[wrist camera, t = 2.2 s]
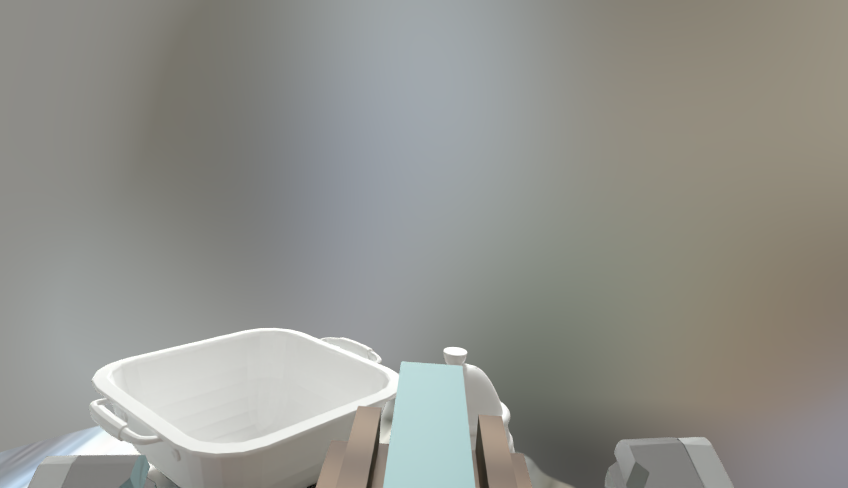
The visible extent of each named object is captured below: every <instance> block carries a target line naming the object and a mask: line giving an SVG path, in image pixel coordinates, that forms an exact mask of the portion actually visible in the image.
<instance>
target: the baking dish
mask: <svg viewBox="0 0 848 488" xmlns="http://www.w3.org/2000/svg"><path fill="white" fill-rule="evenodd" d="M331 344H333V345H331ZM334 345H336V346H339V347H340V348H339V347H336V346H334ZM370 360H372V361H370ZM373 361H374V362H373ZM381 363H382V360H381V358H380V356H379V355H377V354H376V353H374V350H373V349H371V348H369V347H367V346H365V345H363V344H361V343H358V342H356V341H353V340H350V339H347V338H343V337H341V338H333V337H331V338H330V337H328V338H322V339H317V338H314V337H312V336H310V335H307V334H305V333H301V332H297V331H294V330H288V329H279V328H260V329H252V330H246V331H241V332H237V333H232V334H228V335H224V336H219V337H215V338H211V339H207V340H203V341H198V342H194V343H190V344H185V345H181V346H177V347H172V348H168V349H164V350H160V351H155V352H151V353H147V354H142V355H138V356H134V357H129V358H125V359H122V360H119V361H116V362H113V363H110V364H108V365H106V366H104V367H103V368H101V369H99V370H98V371H97V372H96V374H95V375H94V377H93V379H92V381H91V382H92V385H93V387H94V388H95V390H96V391H97V392H98V393H99V394H101V395H102V396H103V397H105V398H104V399H99V400H95V401H93V402H91V403H90V406H89V409H90V412H91V417H92V419H93V420H94V421H95V422H96V423H97V424H98V425H99V426H100V427H101V428H102V429H103V430H105V431H106V432H107V433H109V434H110V435H112V436H113V437H115V438H117V439H118V440H120V441H126V442H129V443H132V444H133V446H134V447H135V448H136V450H137V451H138V452H139V453H140V454H141V455H145V456H146V458H147V461H148V462H149V463H150V464H152V465H153V466H154V467H155V468H157V469H158V470H159V471H160V472H161V473H163V474H164V475H165V476H166V477H168V478H169V479H170V480H171V481H173V482H174V483H175V484H176V485H178V486H179V487H180V488H306V487H308V486H310V485H312V484H315V483H317V482H318V479H319V475H320V472H321V469H322V466H323V463H324V460H325V457H326V454H327V451H328V448H329V445H330V442H331V440H339V441H349V437H350V433H351V430H352V426H353V422H354V419H355V415H356V411H357V408H358V406H368V407H381V415H382V413H383V410H384V407H385V404H386V402H388V401H390V400H392V399H393V398H395V397H396V394H397V387H398V380H399V374H398V373H396V372H394V371H393V370H391V369H389V368H387V367H385V366H382V365H381ZM108 404H112V405H113V408H114V411H115V414H116V415H114V414H113V413H111V412H110V411H109V410H108V409H107V408H105V407H104V405H108Z"/></svg>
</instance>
